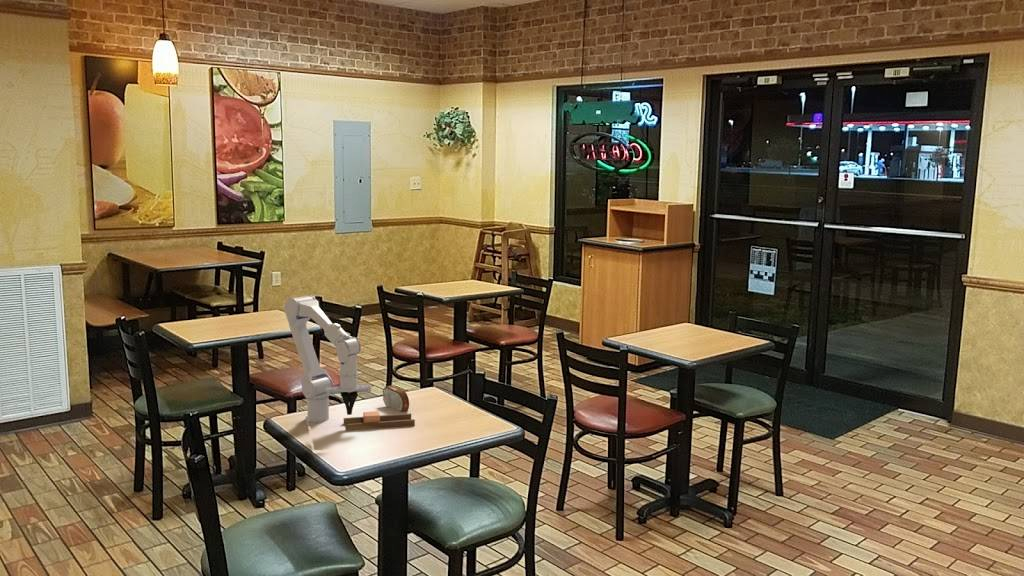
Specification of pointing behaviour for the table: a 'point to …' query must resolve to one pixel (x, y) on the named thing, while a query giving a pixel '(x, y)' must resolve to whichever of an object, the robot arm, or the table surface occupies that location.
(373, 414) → the block
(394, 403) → the tin
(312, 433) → the table surface
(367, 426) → the chute
